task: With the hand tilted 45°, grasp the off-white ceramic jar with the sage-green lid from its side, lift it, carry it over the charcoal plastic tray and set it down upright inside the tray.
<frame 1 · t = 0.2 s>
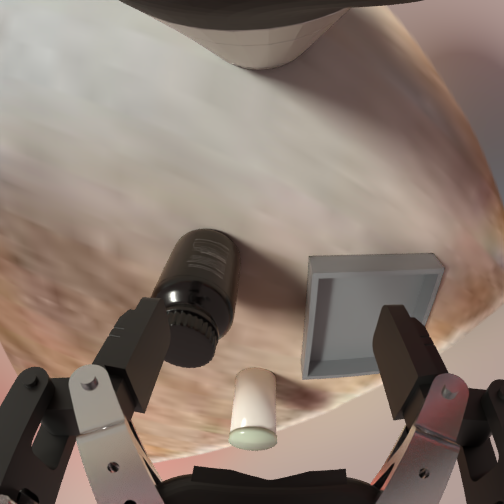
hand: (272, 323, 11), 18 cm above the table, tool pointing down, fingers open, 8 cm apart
supplement bottle: (207, 256, 31), on the table
tray: (363, 314, 34), on the table
jar: (255, 379, 40), on the table
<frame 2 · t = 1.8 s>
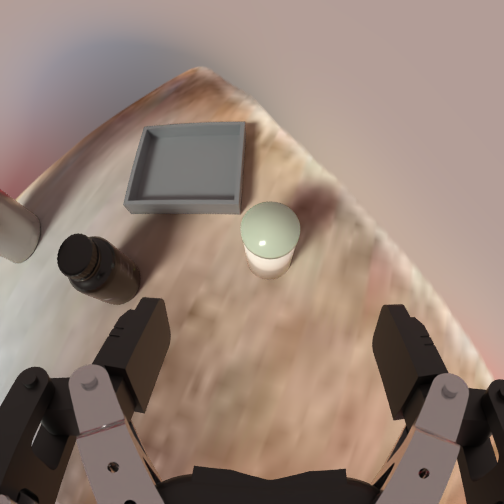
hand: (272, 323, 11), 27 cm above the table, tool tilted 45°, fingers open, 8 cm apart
supplement bottle: (120, 281, 39), on the table
tray: (189, 171, 44), on the table
jar: (269, 258, 39), on the table
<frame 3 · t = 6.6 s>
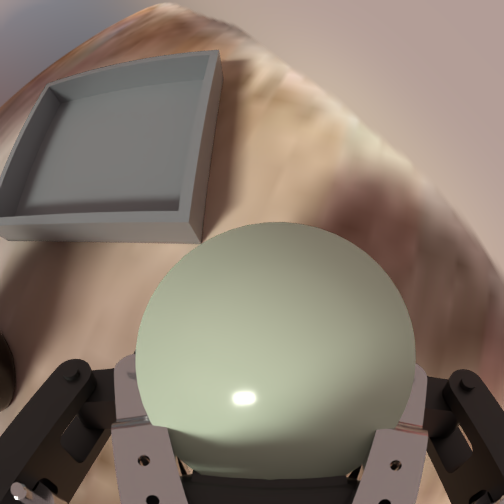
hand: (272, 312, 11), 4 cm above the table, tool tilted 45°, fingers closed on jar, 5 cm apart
tray: (107, 151, 20), on the table
jar: (269, 357, 15), on the table, touching gripper
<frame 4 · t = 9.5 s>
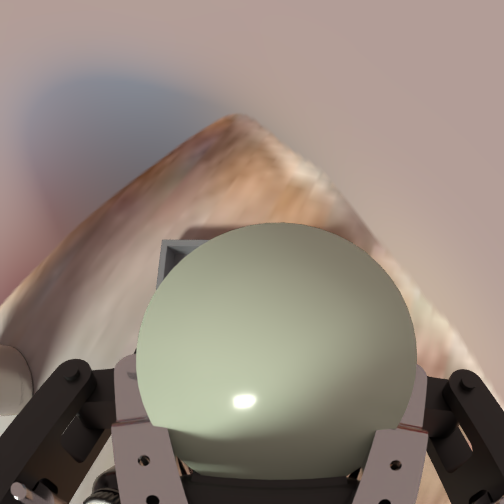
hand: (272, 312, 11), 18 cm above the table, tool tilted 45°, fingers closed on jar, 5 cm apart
supplement bottle: (161, 473, 24), on the table
tray: (244, 321, 29), on the table
jar: (269, 357, 15), point 13 cm above the table, touching gripper
when the fingers open (7 cm above the table, at t = 12.6 s): jar drops 2 cm, resting on tray.
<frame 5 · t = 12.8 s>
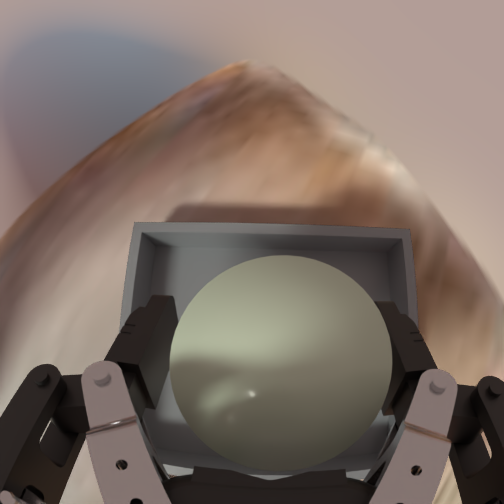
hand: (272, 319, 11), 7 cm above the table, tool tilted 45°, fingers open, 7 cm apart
tray: (268, 356, 17), on the table
jar: (273, 358, 17), point 1 cm above the table, touching tray
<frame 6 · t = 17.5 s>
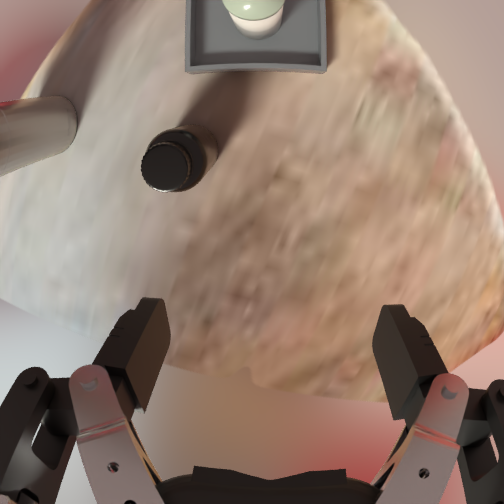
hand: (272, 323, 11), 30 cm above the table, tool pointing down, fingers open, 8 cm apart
supplement bottle: (193, 149, 38), on the table
tray: (256, 20, 29), on the table
jar: (258, 20, 29), resting on tray
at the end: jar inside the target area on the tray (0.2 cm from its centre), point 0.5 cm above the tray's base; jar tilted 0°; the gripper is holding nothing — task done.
